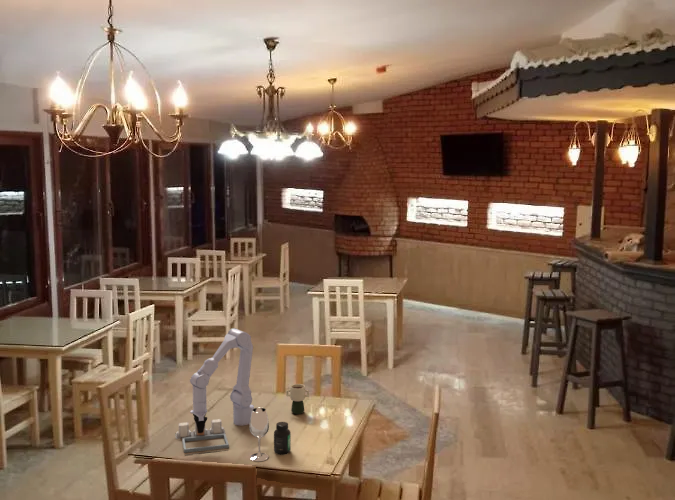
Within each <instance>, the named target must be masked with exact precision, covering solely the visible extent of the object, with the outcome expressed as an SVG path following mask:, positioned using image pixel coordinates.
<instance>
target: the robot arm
mask: <svg viewBox="0 0 675 500" xmlns="http://www.w3.org/2000/svg"><path fill="white" fill-rule="evenodd" d="M223 338H224V339H223V341H222V342H221V344H220V345H219V347H218V348H217V350H216V351H215V353H214V354H213V355H212V357H210V358H207V359H205V360H204V362H203V364H202V365H201V367H200V368H199V369H197V371H196V372H195V373H193V374H192V375H191V377H190V379H189V382H190V384H191V385H192V409H191V410H190V414H192V416H193V420H194V423H195V422H196V425H197V430H198V433H203V431H204V426H205V427H206V423H207V420H208V416H207V413H208V409H207V386H208V385H209V382H210V378H211V377H212V375H213V374H214V373H215V371H216V370H217V369H218V368H219V362H220V361H221V360H222V359H223V357H225V355H226V354H227V353H228V352H229V351H230V350H231V349H235V348H238V349H239V350H240V351H239V352H240V353H239V360H238V367H237V368H238V369H237V376H236V384H234V386H232V391H231V393H230V396H229V398H230V401H231V402H232V407H233V408H232V409H233V411H232V412H233V413H232V416H233V424H234V425H235V426H247V425H250V418H251V413H252V409H254V408H255V406H254V404H252V402H253V397H252V390H251V387H250V385H249V384H250V376H251V367H252V360H253V351H254V345H253V342H252V336H251V334H249V333H248V332H246V331H243V330H241V329H238V328H236V327H235V328H234V327H233V328H230V329H229V330H228V332H227V333H226V334H225V335H224V337H223Z"/></svg>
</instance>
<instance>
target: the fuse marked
mask: <svg viewBox="0 0 675 500" xmlns="http://www.w3.org/2000/svg"><path fill="white" fill-rule="evenodd" d="M194 423H195V424H194V425H195V426H194V430H195V433H196V435H204V434H205V429H206V425H205V426H204V431H203V433H198V430H197V425H196V422H195V421H194Z"/></svg>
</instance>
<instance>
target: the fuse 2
mask: <svg viewBox="0 0 675 500" xmlns="http://www.w3.org/2000/svg"><path fill="white" fill-rule="evenodd" d="M222 424H223V423H222V419H221V418H218V419H211V430H212V434H215V433H222V427H223V426H222Z"/></svg>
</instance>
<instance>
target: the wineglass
mask: <svg viewBox="0 0 675 500" xmlns="http://www.w3.org/2000/svg"><path fill="white" fill-rule="evenodd" d="M248 425H249V427H248V428H249V432H250V434H251V435H252V436H253V437H254V438H257V441H258V442H257V443H258V452H257V453H252V454H251V455H250V456H249V459H250V460H251V461H252V462H264V461H267V460H269V458H270V456H269V454H267V453H264V452H261V439H262V438H263V437H264V436H266V435H267V434H268V432H269V430H270V423H269V417H268V412H267V408H264V407H260V406H259V407H254V409H252V413H251V418H250V424H248Z"/></svg>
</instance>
